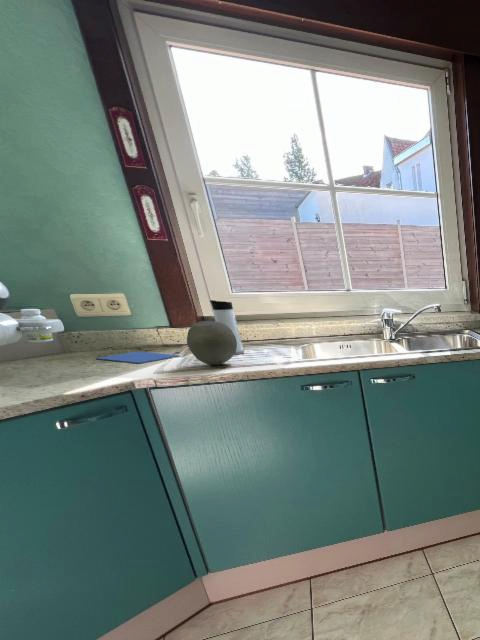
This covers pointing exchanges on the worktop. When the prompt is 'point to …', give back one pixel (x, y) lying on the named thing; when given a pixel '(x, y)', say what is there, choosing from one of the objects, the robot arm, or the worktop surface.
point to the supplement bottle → (35, 315)
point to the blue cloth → (138, 357)
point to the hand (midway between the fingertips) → (36, 322)
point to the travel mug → (227, 320)
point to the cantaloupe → (211, 342)
